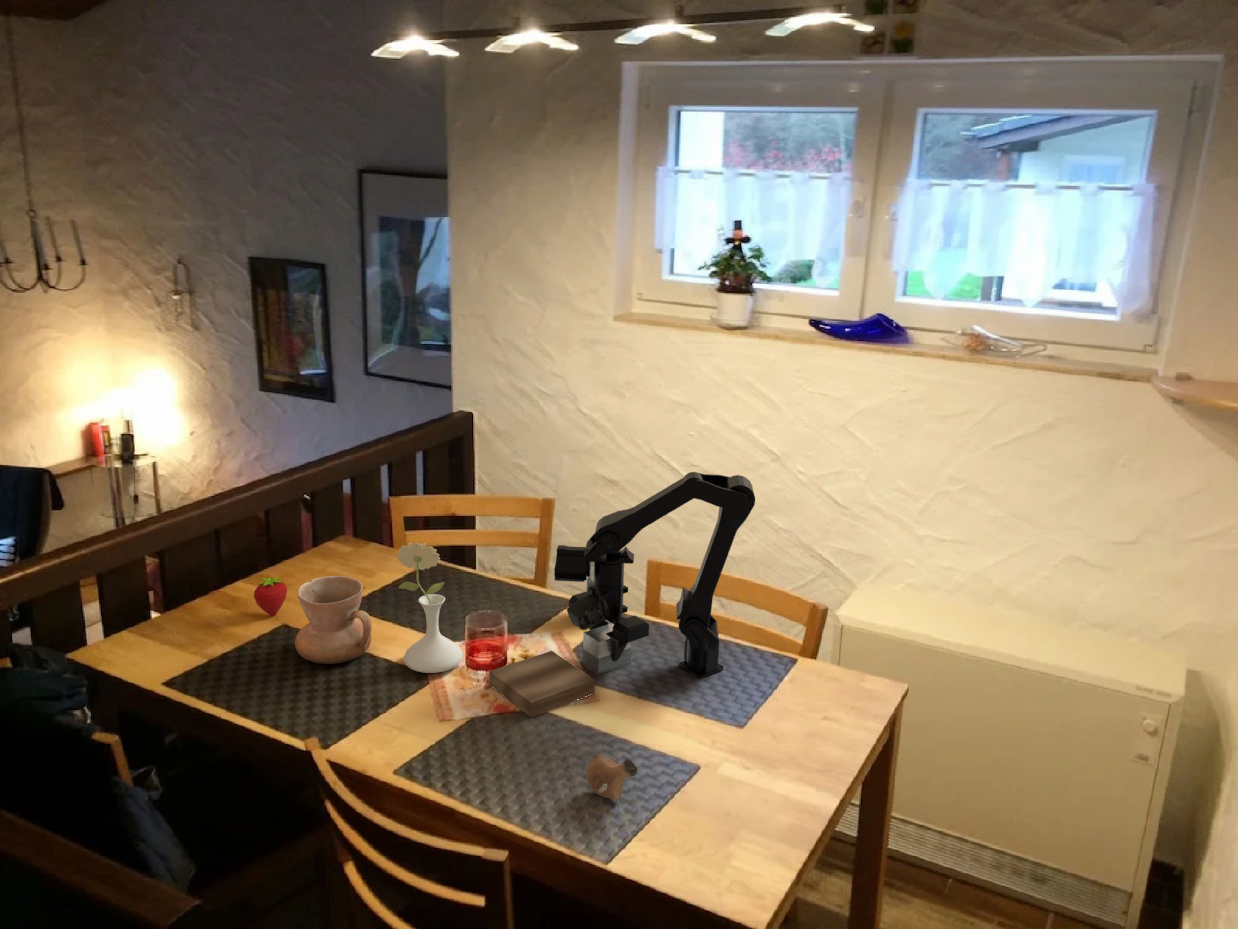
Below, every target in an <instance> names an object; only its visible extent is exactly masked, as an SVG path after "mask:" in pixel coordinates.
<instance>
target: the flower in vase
mask: <svg viewBox="0 0 1238 929" xmlns="http://www.w3.org/2000/svg"><path fill="white" fill-rule="evenodd" d="M395 557H396V558H397V560H398V562H399V563H401V566H405V567H407V568H408V569H409V568H413V570H416V583H415V582H411V581H404V582H402V583H401V584H400V585H399V586H398V588H397V589H402V590H403V589H404V590H408V591H412V592H414V591H417V589H420V590H421V592H422V593H423V594H424V595H422V596H420V597H419V598H418V600H417V601H418V603H419V604H420V605H421V607H422V608H423V610H424V614H425V620H426V621H425V622H426V631H425V634H424V635H423V637H422V638H420V639H419V640H416V641H415V642H414V643H413V644H411V645H410V647H408V648H407V649H406V651H405V653H404V655H403V663H405V665H406V666H407V667H408V668H409V669H410V670H412V671H414V672H415V671H416V672H418V673H419V672H420V673H425V674H427V673H428V674H432V673H433V674H434V673H435V674H436V673H441V672H445V671H450V670H452V669H454V668H455V667H457V666H459V664H460V663H461V662H462V660H463V658H464V653H463V651H462V648H461V647H460V646H459V645H458V644H457V643H455V641H453V640H452V639H449V638H448V637H445V636H444V635H442V634H441V632H440V628H439V627H440V625H439V617H440V611H441V607H442V605H443V603H444V602H445V600H446V597H445V596H443V595H441V594H436V593H437V592H438V591H440V590H441V589H442V588H443V587H444V584H445V581H442V582H438V583H434V584H432V585H431V586H430V587H429V589H428V590H427V591H425V590H424V589H423V587H422V586H421V584H420V582H419V570H422V571H425V569H427V570H428V569H429V570H430V568H432V567H433V568H434V567H436V566H437V564H438V563H439V561H440V560H441V558H440V554H439V553H437V549H436V548H434V546H427V544H426V543H425V542H421V543H420V544H419V543H418V542H413V543H412V542H408V543H407V545H405V544H404V545H403V544H402V545H401V547H400V548H398V551H397V554H395Z"/></svg>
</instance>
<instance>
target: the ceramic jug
mask: <svg viewBox="0 0 1238 929" xmlns="http://www.w3.org/2000/svg"><path fill="white" fill-rule="evenodd" d="M363 588H364V586H363V584H362V582H360V581H359V580H358V579H356V578H354V577H351V576H345V575H342V576H341V575H328V576H321V577H317V578H314V579H311V581H310V582H309V581H307V582H305V583H302V585H300V587H298V590H297V597H296V598H297V599H298V601H299V604H300V607H301V609H302V611H303V613H304V615H305V617H306V619H307V621H308V623H307V624H305V625H304V626H303V627H302V628H301V629H300V630H299V631H298V632H297V635H296V636H295V641H294V648H295V649H296V651H297V653H298V654H299V656H301V657H302V658H303V659H305V660H307V661H309V662H312V663H316V664H322V665H323V664H324V665H332V664H333V665H334V664H340V663H341V664H342V663H345V662H349V661H352V660H354V659H356V658H359V657H360V656H361V655H363V654H364V653H365V652H366V651H367V650H368V649H369V648H370V645H371V643H372V636H373V635H372V630H373V622H372V618H371V617H370V615H369V614H368V613H367V612H366V611H365V610H359V609H360V606H361V603H362V598H363V590H364V589H363Z"/></svg>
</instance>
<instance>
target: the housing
mask: <svg viewBox="0 0 1238 929" xmlns="http://www.w3.org/2000/svg"><path fill="white" fill-rule="evenodd" d="M613 626H614V624H613V623H608V625H605V626H602V627H599V628H595V629H592V630H587V631H586V630H585V631H583V632H582V635H583V636H582V643H583V644H582V666H584V667H586V668H587V669H589V670H590V671H591V672H593V673H595V674H596V675H597V676H598V675H601V674H604V673H608V672H611V671H613V670H616V669H618V668H622V667H624V666H628V665H630V664H632V663H631V662H632V642H629V643H628V644H627V645H626V647H625V649H624V651H623V652H622V654H621V656H620V658H619V660H618V661H615V662H614V661H613V658H612V646H611V638H610V637H609V636H607V635H606V633H608V632H611V631H613Z"/></svg>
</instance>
